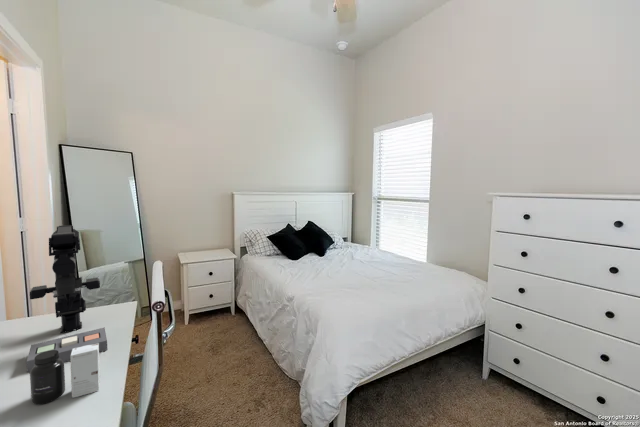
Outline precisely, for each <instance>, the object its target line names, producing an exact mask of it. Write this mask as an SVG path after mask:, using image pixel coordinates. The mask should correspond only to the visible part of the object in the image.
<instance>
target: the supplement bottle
mask: <svg viewBox="0 0 640 427" xmlns="http://www.w3.org/2000/svg"><path fill="white" fill-rule="evenodd" d="M34 360H35V362H34V365H35V366H34V367H33V368H32V369H31V371H30V372H29V381H30V382H29V383H30V397H31V398H30V399H31V403H32V404H33V405H38V406H39V405H46V404H49V403H51V402H54V401H57V400H58V399H59V398H61V397H62V396H63V395H64V394H65V393H66V379H65V378H66V377H65V362H63V361H62V360H61V359H59V352H58V351H57V350H49V351H45V352H42V353H40V354H38V355H37V356H35V358H34Z"/></svg>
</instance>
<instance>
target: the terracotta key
mask: <svg viewBox="0 0 640 427" xmlns="http://www.w3.org/2000/svg"><path fill="white" fill-rule="evenodd" d="M97 338H99V333H97V334H93V335H89V336H85V342H86V341H90V340H93V339H97Z"/></svg>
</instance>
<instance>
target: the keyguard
mask: <svg viewBox="0 0 640 427" xmlns="http://www.w3.org/2000/svg"><path fill="white" fill-rule="evenodd" d="M97 333H99V338H97V339H93V340H90V341H86V342H85V336H89V335H93V334H97ZM74 336H77V341H78V344H74V345H70V346H66V347H62V339H65V338H69V337H74ZM97 343H99V353H101V352H105V351H108V349H109V348H108V339H107V333H106V328H105V327H100V328H96V329H92V330H88V331H84V332H80V333H75V334H72V335H71V334H70V335H65V336H63V337H58V338H53V339H49V340H45V341H42V342H37V343H33V344H31V345H30V347H29V352H28V355H27V358H26V361H25V362H26V372H27V373H30V371H31V369H32V368H33V367H34V366H35V365H34V362H35V360H34V358H35V356H37V355H38V354H40V353H38V354H37V351H38V348H40V347H44V346H48V345H52V344H54V345H55V349H54V350H57V351H58V352H59V359H61V360H62V361H63V362H64V363H65V362H68V361H70V356H71V352H72V349H73V348H78V347H82V346H86V345H92V344H97ZM70 362H71V361H70Z"/></svg>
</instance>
